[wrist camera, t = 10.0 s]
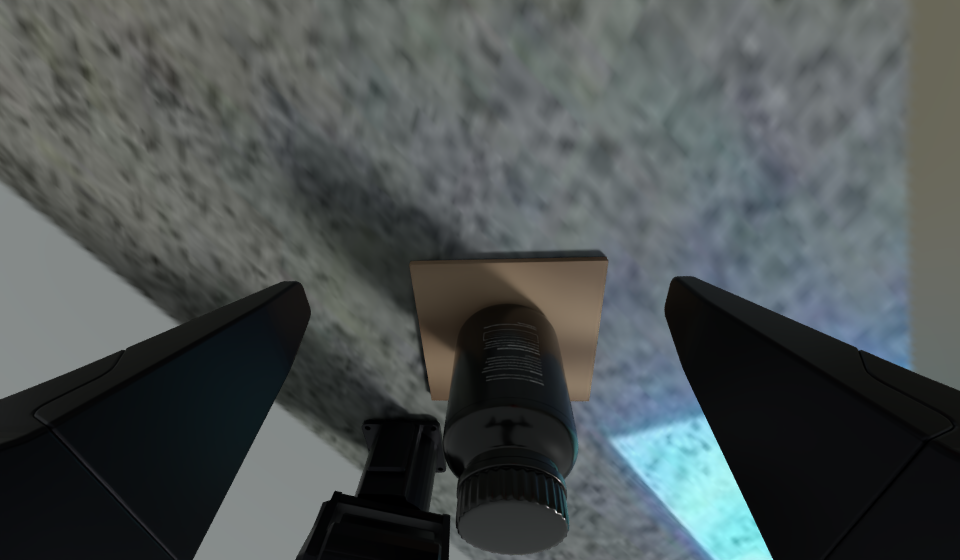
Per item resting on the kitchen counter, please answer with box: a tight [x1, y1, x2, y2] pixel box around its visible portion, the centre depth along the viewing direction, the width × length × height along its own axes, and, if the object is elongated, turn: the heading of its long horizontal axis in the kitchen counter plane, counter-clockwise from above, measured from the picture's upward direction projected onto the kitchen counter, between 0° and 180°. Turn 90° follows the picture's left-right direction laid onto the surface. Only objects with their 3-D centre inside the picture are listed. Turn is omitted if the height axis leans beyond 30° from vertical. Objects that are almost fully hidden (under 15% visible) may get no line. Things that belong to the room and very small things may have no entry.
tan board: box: [409, 257, 608, 401], centre depth 26 cm, size 12×12×1 cm
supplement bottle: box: [443, 303, 578, 555], centre depth 21 cm, size 7×7×12 cm
